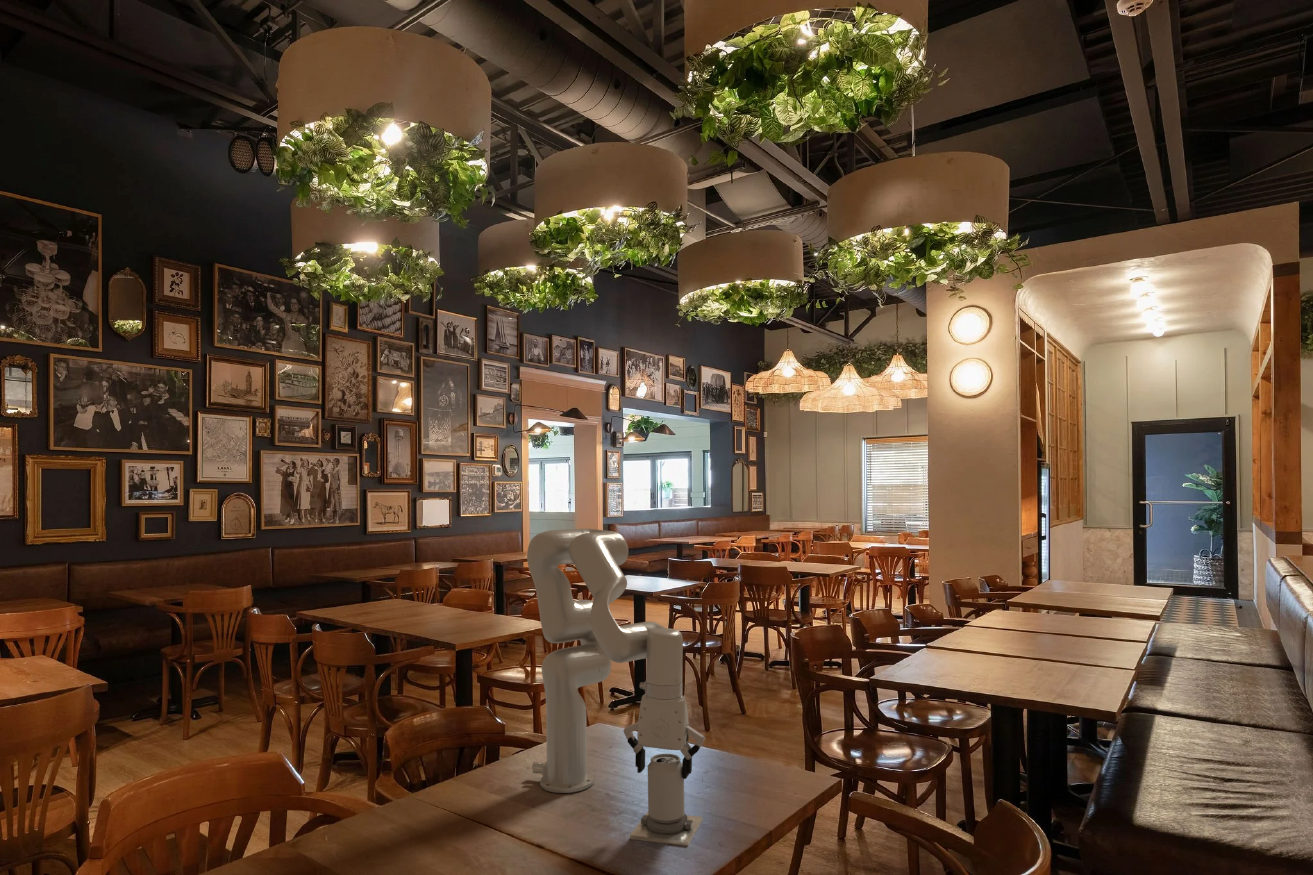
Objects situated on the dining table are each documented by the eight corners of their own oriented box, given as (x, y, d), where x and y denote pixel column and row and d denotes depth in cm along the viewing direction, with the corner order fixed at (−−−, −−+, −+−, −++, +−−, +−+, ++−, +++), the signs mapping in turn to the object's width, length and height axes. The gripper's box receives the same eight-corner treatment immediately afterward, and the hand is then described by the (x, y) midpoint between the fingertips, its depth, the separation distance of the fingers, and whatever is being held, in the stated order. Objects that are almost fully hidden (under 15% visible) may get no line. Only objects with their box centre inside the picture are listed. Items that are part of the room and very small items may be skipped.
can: (657, 807, 167) (656, 749, 168) (690, 813, 164) (689, 754, 164) (642, 821, 160) (641, 760, 161) (675, 827, 157) (674, 765, 158)
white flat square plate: (630, 838, 158) (629, 826, 158) (648, 814, 169) (647, 803, 169) (688, 846, 154) (687, 833, 154) (702, 820, 166) (702, 809, 166)
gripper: (618, 690, 162) (617, 775, 162) (700, 699, 157) (699, 785, 157) (630, 681, 169) (629, 761, 169) (709, 688, 164) (708, 771, 164)
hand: (663, 773), depth 163 cm, fingers open, 9 cm apart
